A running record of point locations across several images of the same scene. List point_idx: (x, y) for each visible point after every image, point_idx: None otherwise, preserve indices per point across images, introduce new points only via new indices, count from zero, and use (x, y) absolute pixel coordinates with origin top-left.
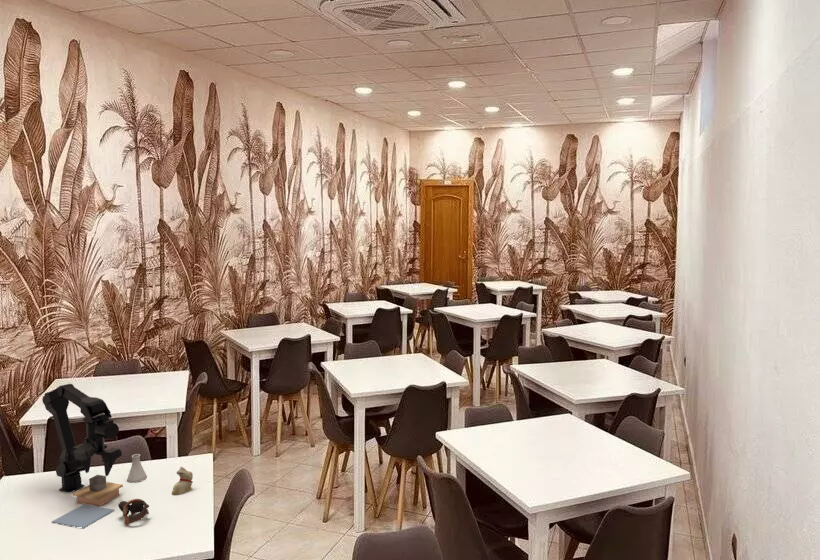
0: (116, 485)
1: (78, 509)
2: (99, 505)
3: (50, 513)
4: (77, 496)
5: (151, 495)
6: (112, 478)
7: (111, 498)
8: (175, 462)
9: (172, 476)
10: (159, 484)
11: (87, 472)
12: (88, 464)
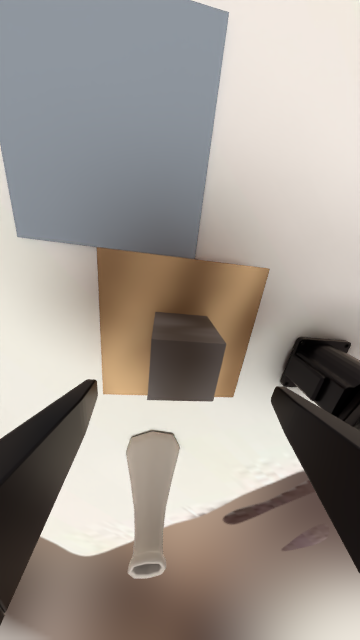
0: (123, 381)
1: (182, 204)
2: None
3: (289, 150)
4: None
5: (6, 381)
6: (226, 435)
7: None
8: (126, 524)
9: (65, 480)
10: None
11: (274, 391)
12: (315, 462)
